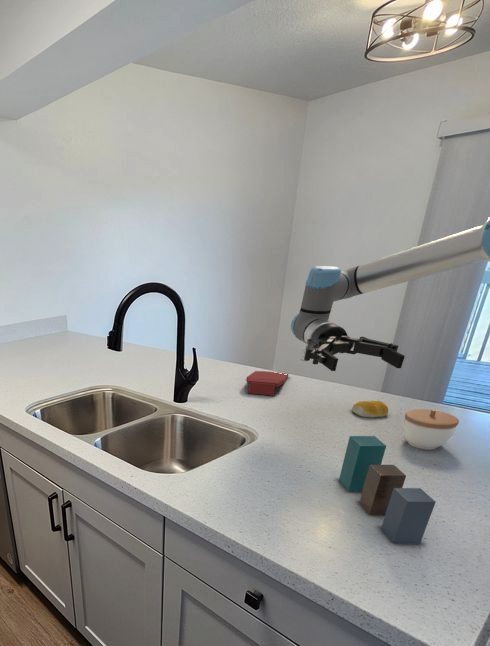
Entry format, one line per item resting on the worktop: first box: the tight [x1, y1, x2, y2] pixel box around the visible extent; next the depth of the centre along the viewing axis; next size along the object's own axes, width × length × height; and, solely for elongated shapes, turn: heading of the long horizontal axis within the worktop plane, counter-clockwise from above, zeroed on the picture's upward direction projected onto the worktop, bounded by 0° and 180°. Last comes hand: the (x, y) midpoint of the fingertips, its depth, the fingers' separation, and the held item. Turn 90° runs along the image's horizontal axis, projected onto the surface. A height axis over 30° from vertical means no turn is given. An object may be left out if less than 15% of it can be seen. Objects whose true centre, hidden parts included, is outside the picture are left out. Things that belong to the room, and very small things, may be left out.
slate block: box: [380, 487, 437, 545], centre depth 78 cm, size 4×4×9 cm
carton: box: [245, 370, 289, 397], centre depth 160 cm, size 12×5×25 cm
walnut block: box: [358, 464, 407, 516], centre depth 86 cm, size 4×4×9 cm
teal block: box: [338, 435, 387, 493], centre depth 93 cm, size 5×5×11 cm
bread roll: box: [351, 400, 389, 419], centre depth 130 cm, size 8×9×4 cm
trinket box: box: [402, 408, 460, 451], centre depth 109 cm, size 11×11×9 cm
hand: (368, 363), depth 93 cm, fingers open, 13 cm apart
